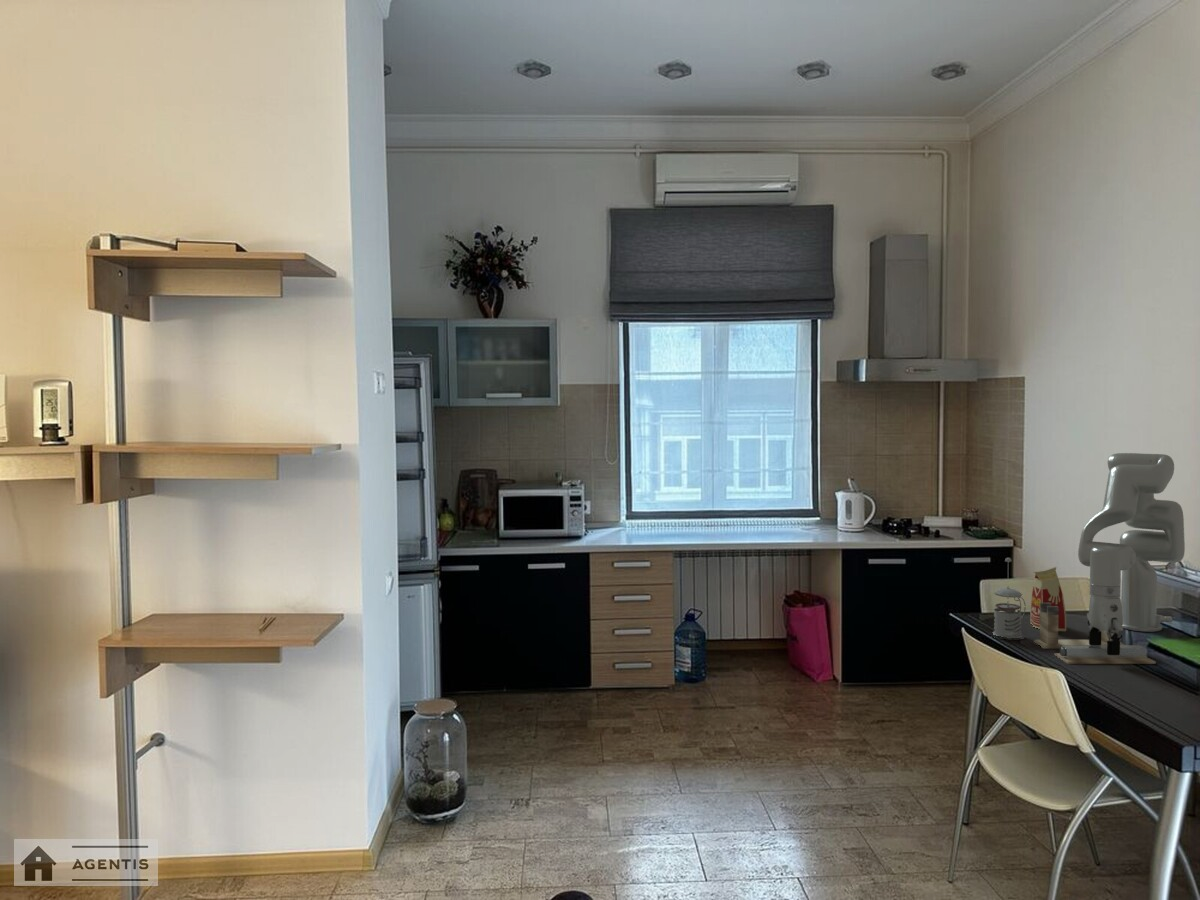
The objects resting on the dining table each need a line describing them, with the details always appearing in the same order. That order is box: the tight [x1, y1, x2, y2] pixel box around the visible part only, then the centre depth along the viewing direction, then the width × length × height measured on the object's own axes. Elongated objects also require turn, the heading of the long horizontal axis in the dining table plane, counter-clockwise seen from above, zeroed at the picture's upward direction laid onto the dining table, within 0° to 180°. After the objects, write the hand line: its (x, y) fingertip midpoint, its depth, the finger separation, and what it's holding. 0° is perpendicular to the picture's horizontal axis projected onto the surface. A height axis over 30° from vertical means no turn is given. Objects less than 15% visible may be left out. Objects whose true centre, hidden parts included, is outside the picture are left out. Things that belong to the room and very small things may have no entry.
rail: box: [1058, 644, 1150, 659], centre depth 244 cm, size 24×3×3 cm, turn 87°
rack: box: [1033, 603, 1126, 649], centre depth 257 cm, size 24×6×12 cm, turn 87°
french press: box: [992, 557, 1026, 638], centre depth 269 cm, size 10×12×25 cm
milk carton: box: [1029, 566, 1067, 632], centre depth 278 cm, size 9×9×20 cm
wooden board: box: [1053, 652, 1157, 665], centre depth 244 cm, size 24×8×1 cm, turn 87°
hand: (1104, 649), depth 244 cm, fingers open, 9 cm apart
